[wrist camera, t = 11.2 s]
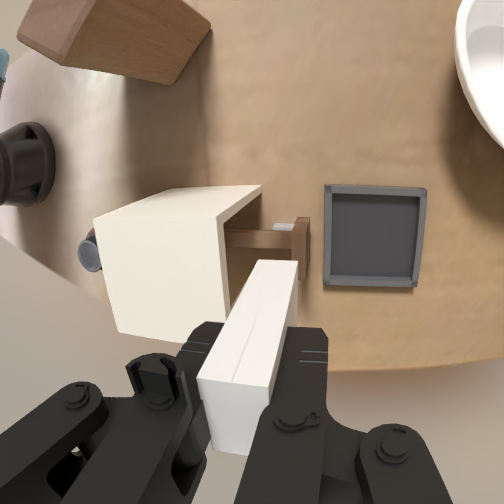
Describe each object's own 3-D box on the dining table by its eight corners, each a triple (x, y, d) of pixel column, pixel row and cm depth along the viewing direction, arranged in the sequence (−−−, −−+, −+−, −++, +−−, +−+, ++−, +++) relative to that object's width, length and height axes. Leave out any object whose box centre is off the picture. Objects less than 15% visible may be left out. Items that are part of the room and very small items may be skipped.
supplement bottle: (164, 235, 43) (117, 265, 33) (139, 256, 46) (92, 289, 35) (139, 201, 42) (86, 222, 32) (116, 225, 45) (64, 250, 34)
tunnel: (181, 271, 45) (118, 332, 30) (171, 188, 41) (92, 219, 26) (308, 278, 40) (292, 355, 26) (307, 184, 36) (291, 216, 22)
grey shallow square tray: (323, 279, 40) (323, 284, 39) (324, 184, 36) (324, 185, 35) (414, 282, 37) (416, 287, 36) (423, 188, 33) (427, 190, 32)
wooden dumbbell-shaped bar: (158, 256, 44) (129, 277, 37) (151, 207, 42) (119, 222, 35) (310, 262, 39) (305, 289, 32) (310, 205, 37) (305, 221, 30)
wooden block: (174, 88, 36) (59, 68, 18) (123, 60, 36) (10, 39, 18) (216, 25, 32) (125, -43, 14) (160, 1, 32) (61, -52, 14)
